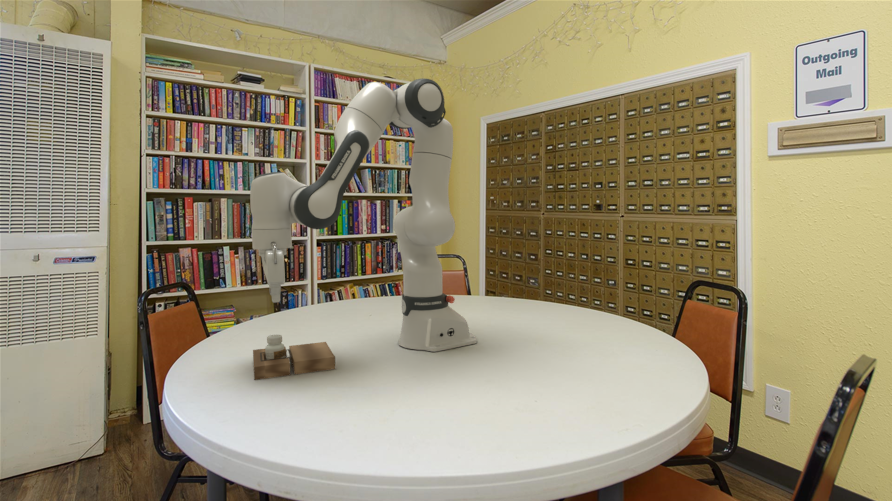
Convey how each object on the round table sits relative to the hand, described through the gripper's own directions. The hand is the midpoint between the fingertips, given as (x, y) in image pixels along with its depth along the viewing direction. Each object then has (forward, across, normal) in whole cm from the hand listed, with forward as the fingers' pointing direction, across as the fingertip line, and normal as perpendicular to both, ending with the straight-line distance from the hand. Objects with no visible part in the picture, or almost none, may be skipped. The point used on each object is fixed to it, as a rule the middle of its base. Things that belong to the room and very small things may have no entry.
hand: (274, 298), depth 113 cm
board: (+17, 0, -4) cm, 17 cm away
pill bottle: (+17, 0, +1) cm, 17 cm away
